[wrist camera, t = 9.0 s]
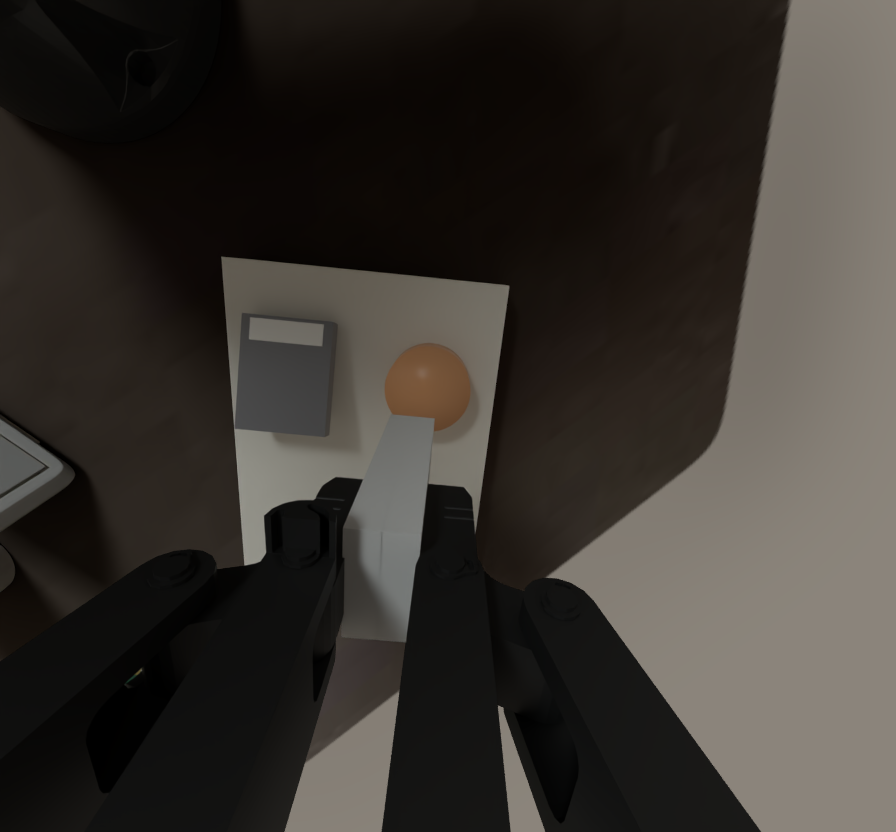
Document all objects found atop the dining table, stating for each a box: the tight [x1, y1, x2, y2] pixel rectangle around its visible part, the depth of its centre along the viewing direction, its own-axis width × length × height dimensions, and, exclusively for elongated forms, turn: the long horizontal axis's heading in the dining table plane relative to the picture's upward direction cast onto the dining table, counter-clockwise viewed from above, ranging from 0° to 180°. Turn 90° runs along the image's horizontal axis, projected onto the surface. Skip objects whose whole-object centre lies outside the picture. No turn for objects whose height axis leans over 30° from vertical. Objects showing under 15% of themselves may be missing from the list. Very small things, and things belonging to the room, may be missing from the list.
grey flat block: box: [235, 313, 338, 437], centre depth 23 cm, size 6×5×1 cm
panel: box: [221, 257, 509, 565], centre depth 28 cm, size 22×16×4 cm
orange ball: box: [385, 343, 471, 432], centre depth 25 cm, size 5×5×5 cm
